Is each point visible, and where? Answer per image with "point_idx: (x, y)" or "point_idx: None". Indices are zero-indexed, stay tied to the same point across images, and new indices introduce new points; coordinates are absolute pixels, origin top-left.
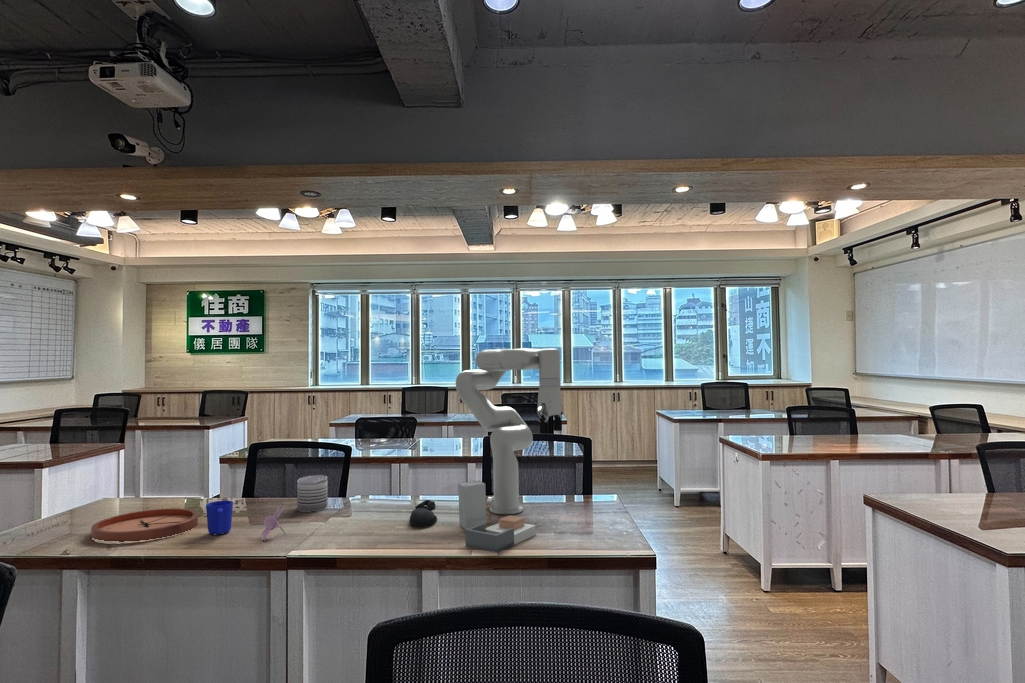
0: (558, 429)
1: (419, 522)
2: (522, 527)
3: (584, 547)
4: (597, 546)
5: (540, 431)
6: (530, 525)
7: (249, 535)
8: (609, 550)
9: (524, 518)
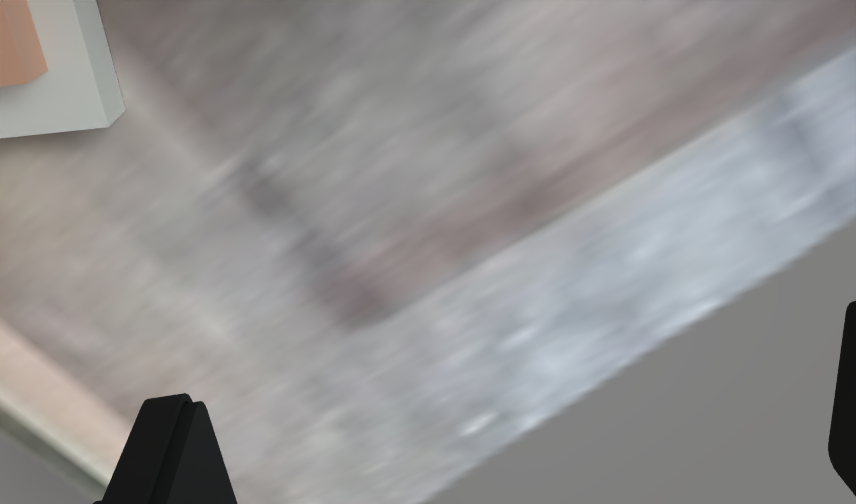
0: (847, 429)
1: None
2: (3, 89)
3: None
4: None
5: (138, 437)
6: (78, 102)
7: None
8: None
9: (28, 82)
